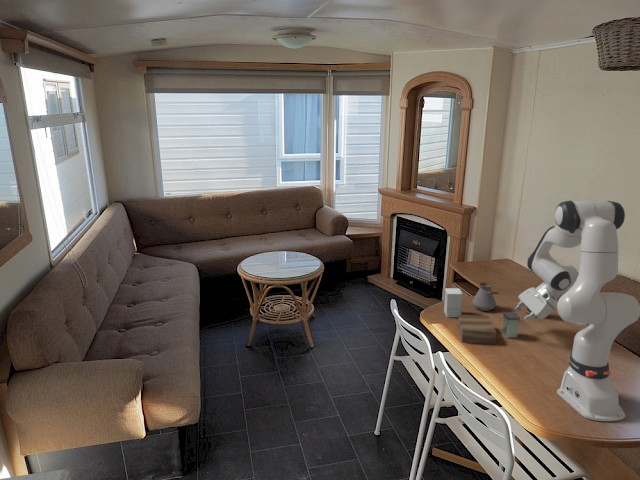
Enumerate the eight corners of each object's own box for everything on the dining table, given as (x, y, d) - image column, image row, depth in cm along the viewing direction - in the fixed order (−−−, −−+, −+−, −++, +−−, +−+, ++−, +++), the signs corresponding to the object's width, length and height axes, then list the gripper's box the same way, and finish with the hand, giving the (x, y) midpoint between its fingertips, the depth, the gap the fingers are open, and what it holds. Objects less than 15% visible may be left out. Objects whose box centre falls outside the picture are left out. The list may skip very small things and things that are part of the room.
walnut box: (495, 344, 203) (496, 332, 201) (461, 343, 205) (462, 330, 203) (487, 327, 218) (488, 316, 217) (457, 326, 220) (457, 314, 219)
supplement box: (458, 311, 235) (460, 288, 231) (461, 317, 228) (463, 294, 224) (443, 310, 236) (445, 287, 232) (445, 317, 229) (447, 293, 225)
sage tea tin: (517, 338, 208) (519, 317, 205) (505, 338, 208) (507, 317, 205) (512, 332, 213) (515, 312, 210) (501, 332, 213) (503, 312, 210)
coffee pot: (468, 303, 244) (470, 276, 239) (490, 303, 244) (492, 276, 240) (483, 322, 223) (486, 293, 219) (507, 321, 223) (510, 292, 219)
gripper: (530, 281, 214) (507, 300, 217) (551, 299, 194) (525, 320, 197) (539, 289, 215) (515, 309, 218) (560, 308, 196) (534, 330, 199)
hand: (520, 315), depth 208 cm, fingers open, 8 cm apart
